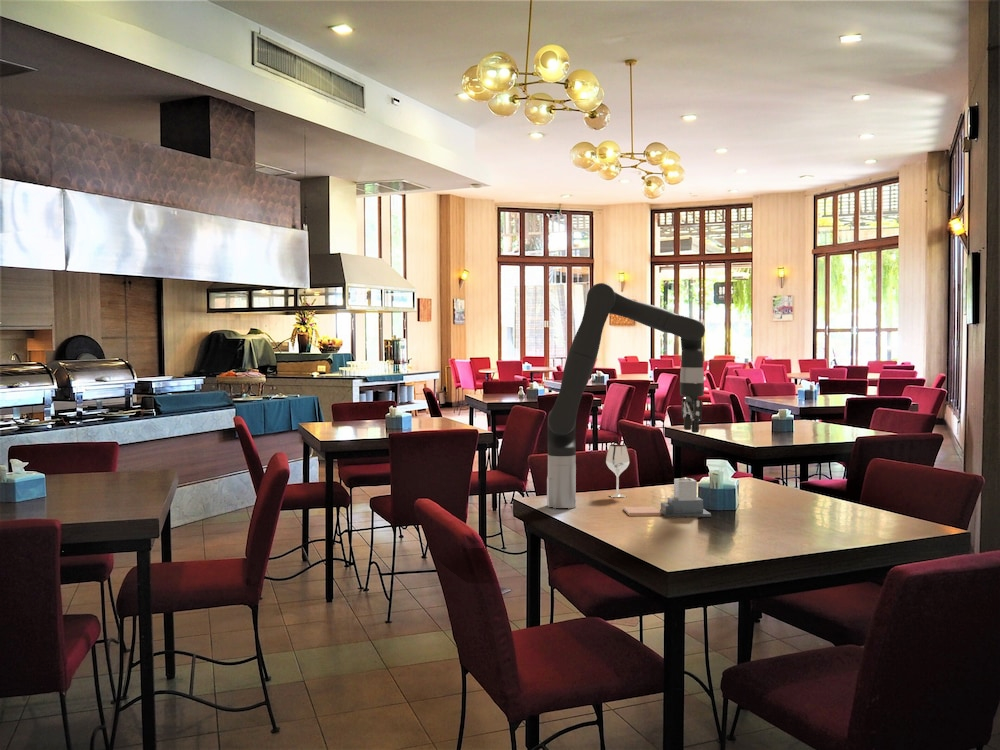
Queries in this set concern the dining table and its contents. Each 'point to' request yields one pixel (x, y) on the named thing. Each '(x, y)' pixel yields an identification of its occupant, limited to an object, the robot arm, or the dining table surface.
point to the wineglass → (617, 462)
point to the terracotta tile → (642, 511)
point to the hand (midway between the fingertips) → (691, 431)
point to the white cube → (685, 489)
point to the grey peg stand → (683, 507)
